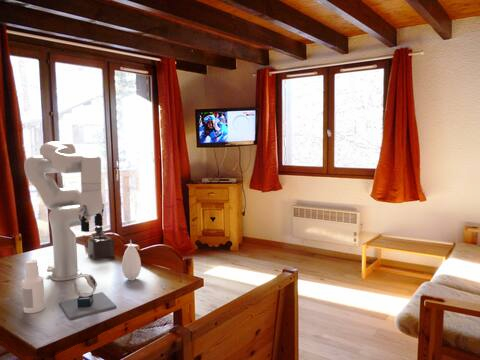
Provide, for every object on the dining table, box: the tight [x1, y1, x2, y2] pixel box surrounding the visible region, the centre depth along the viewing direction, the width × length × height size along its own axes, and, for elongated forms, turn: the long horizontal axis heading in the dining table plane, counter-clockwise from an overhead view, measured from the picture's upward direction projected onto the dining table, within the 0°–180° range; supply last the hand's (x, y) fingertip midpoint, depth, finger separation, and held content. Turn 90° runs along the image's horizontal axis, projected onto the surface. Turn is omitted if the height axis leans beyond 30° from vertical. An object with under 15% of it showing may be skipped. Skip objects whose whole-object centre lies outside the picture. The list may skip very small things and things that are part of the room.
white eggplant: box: [121, 239, 142, 281], centre depth 170 cm, size 8×8×18 cm
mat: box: [58, 291, 117, 320], centre depth 144 cm, size 16×16×1 cm
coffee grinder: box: [87, 225, 115, 261], centre depth 203 cm, size 16×11×18 cm
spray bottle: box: [21, 259, 46, 314], centre depth 140 cm, size 7×7×18 cm
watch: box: [72, 273, 98, 308], centre depth 143 cm, size 6×8×11 cm
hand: (92, 228), depth 158 cm, fingers open, 9 cm apart
